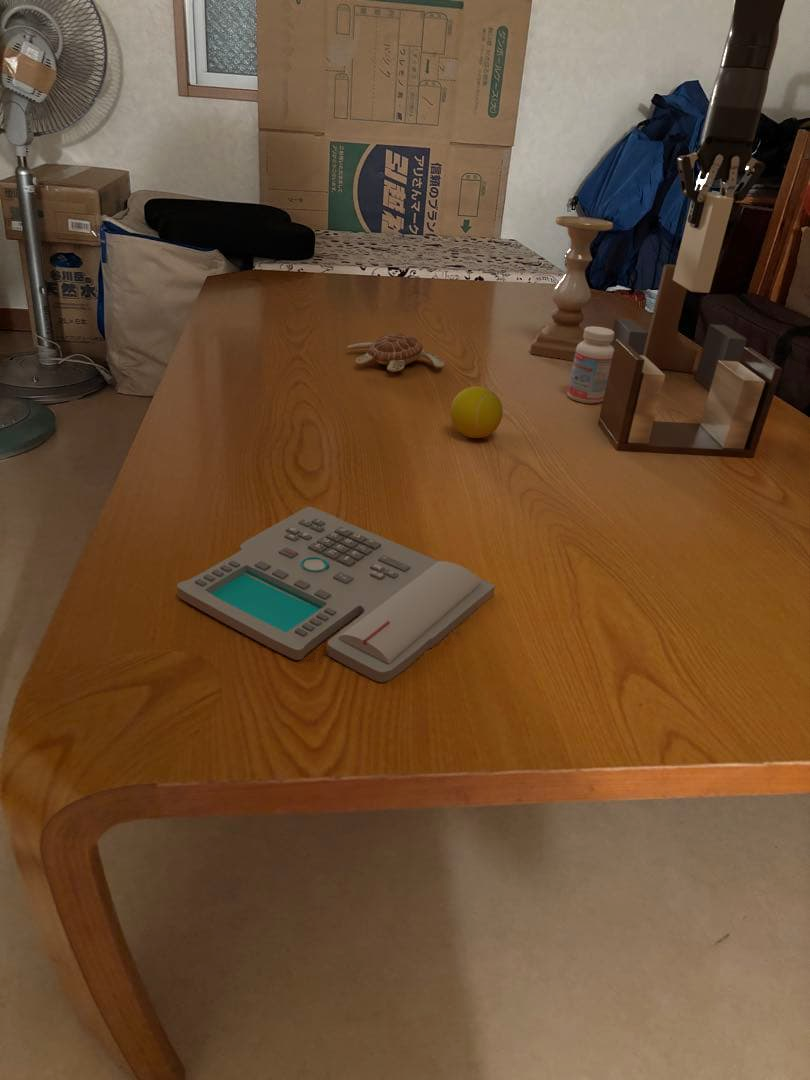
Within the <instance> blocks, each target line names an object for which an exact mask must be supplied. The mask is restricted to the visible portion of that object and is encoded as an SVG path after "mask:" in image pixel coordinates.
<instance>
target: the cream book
mask: <svg viewBox="0 0 810 1080" xmlns="http://www.w3.org/2000/svg"><path fill="white" fill-rule="evenodd" d="M733 200H734V199H733V198H729V197H726V196H722V195H720V193H715V192H712V191H708V192H707V195H706V197H705V200H704V201H703V203H704V207H703V211H702V215H701V219H700V223H699V227H698V228H693V227H690V223H689V222H688V216H689V212H690V207H691V203H692V201H690V204H689V208H688V212H687V217H686V221H685V226H684V230H683V234H682V238H681V242H680V246H679V250H678V255H677V259H676V264H675V265H676V267H675V271H674V276H673V281H675V282H677V283H678V284H680V285H682V286H683V287H685V288H686V289H687V291H689V292H691V293H704V294H705V293H706V294H709V293H710V292H711V288H712V284H713V280H714V276H715V273H716V269H717V265H718V261H719V256H720V254H721V250H722V246H723V241H724V238H725V235H726V230H727V227H728V222H729V219H730V215H731V211H732V208H733V203H734V202H733Z"/></svg>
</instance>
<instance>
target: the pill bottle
mask: <svg viewBox="0 0 810 1080" xmlns="http://www.w3.org/2000/svg"><path fill="white" fill-rule="evenodd" d="M583 330H584V334H583V336H584V337H583V338H584V341H582V342H580V343H579V344H578V345H577V348H576V352H575V357H574V361H572V367H571V372H570V378H569V383H568V388H567V396H568V397H569V398H570V399H571V400H573V401H576V402H577V403H581V404H588V405H592V404H593V405H594V404H599V403H603V399H604V394H605V390H606V385H607V380H608V376H609V371H610V366H611V362H612V357H613V352H614V348H613V347H612V346H611V345H610V343H611V342H612V341H613V337H614V331H613V329H610V328H607V327H602V326H593V325H591V326H586V327H585V328H584V329H583Z"/></svg>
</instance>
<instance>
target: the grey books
mask: <svg viewBox="0 0 810 1080" xmlns="http://www.w3.org/2000/svg"><path fill="white" fill-rule="evenodd" d="M612 331H614V337H613V341H612V342H611V343H610V345H611V346H612V347H613V348H615V343H616V339H623V340H624V341H625V342H626V343H627V344H628V345H629V346H630V347H631V348H632V349H633V350H634V351H636V352H637V353H638V354H639V355H643V354H644V349H645V345H646V341H647V337H648V332H649V331H647V330H646V329H644V327H642V326H641V325H640V324H638V323H637V322H636V321H635V320H634V319H633V318H625V317H624V318H623V317H615V319H614V322H613V328H612ZM747 341H748V339H747V338H746V337H745V336H743V335H742V334H740V333H738V332H736V331H735V330H733V329H732V328H731V327H729V326H727V325H726V324H714V323H708V327H707V331H706V335H705V339H704V341H703V346H702V350H701V353H700V357H699V360H698V364H697V368H696V372H695V376H694V380H695V381H696V382H697V383H699V384H700V385H701V386H702V387H703V388H704V389H706V390H707V392H710V388H711V385H712V381H713V378H714V374H715V371H716V367H717V364H718V361H719V360H721V361H737V362H739V363H740V360H741V356H742V353H743V350H744V347H746V344H747Z"/></svg>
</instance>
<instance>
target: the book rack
mask: <svg viewBox="0 0 810 1080" xmlns="http://www.w3.org/2000/svg"><path fill="white" fill-rule="evenodd" d="M782 372H783V368H782V367H780V366H779V365H778V364H776V363H774V362H773V361H771V360H770V359H768V358H767V357H765V356H764V355H762V353H760V352H757V351H756V350H755V349H753V347H746V346H745V347H744V350H743V353H742V356H741V360H740V363H739V362H737V361H721V360H719V361H718V364H717V367H716V371H715V374H714V378H713V381H712V385H711V388H710V392H709V391H708V392H709V393H708V396H707V400H706V403H705V406H704V410H703V414H702V417H701V421H700V423H695V422H675V421H661V420H659V421H658V420H655V418H656V414H657V410H658V406H659V402H660V400H661V399H660V398H661V395H662V391H663V387H664V383H665V379H666V374H665V373H664V372H662V371H661V369H658V368H657V367H656V366H655V365H654V364H653V363H652V362H651V361H650V360H649V359H648V358H646V357H645V356H643V355H639V354H638V353H637V352H636V351H634V350H633V349H632V348H631V347H630V346H629V345H628V344H627V343H626V342H625V341H624V340H623V339H616V343H615V348H614V352H613V357H612V362H611V366H610V371H609V376H608V380H607V385H606V390H605V394H604V399H603V401H602V404H601V407H600V413H599V418H598V423H597V424H598V426H599V427H600V429H601V430H602V433H604V435H605V436H606V438H607V439H608V440H609V442H610V443H611V444H612V446H613V448H614V449H615V450H616V451H621V452H638V453H639V452H640V453H658V454H661V453H662V454H675V455H676V454H678V455H679V454H680V455H697V456H713V457H730V458H731V457H732V458H753V459H754V457H755V454H756V451H757V448H758V445H759V442H760V440H761V436H762V433H763V430H764V428H765V424H766V421H767V419H768V414H769V412H770V408H771V405H772V402H773V399H774V396H775V393H776V391H777V387H778V384H779V381H780V378H781V375H782Z"/></svg>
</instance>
